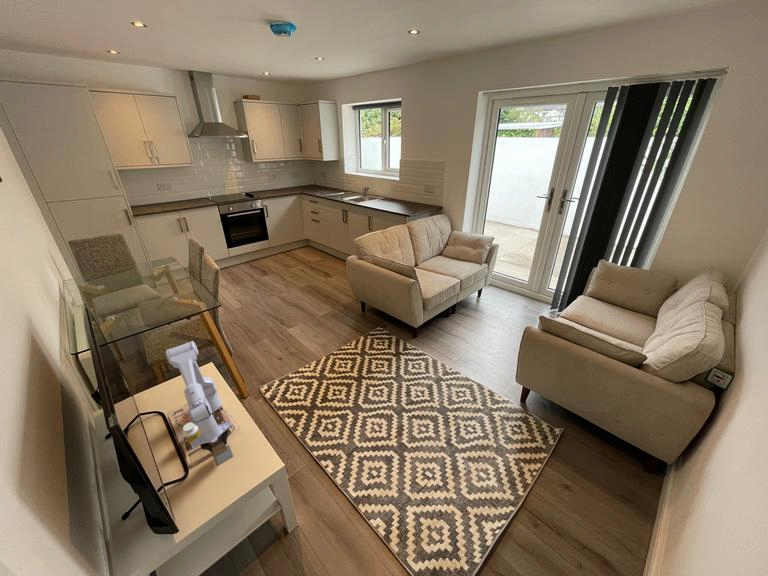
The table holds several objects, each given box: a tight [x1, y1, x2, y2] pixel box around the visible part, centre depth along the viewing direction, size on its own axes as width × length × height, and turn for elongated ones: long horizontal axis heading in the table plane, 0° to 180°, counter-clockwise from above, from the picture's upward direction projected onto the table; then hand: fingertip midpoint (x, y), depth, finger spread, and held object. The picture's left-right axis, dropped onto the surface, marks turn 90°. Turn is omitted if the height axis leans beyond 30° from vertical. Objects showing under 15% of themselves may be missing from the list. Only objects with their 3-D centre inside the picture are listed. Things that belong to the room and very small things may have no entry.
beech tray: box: [181, 435, 214, 469], centre depth 130 cm, size 15×13×2 cm
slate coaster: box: [213, 444, 234, 466], centre depth 126 cm, size 6×6×1 cm
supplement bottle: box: [182, 421, 201, 445], centre depth 130 cm, size 5×5×10 cm
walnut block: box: [209, 435, 228, 457], centre depth 122 cm, size 4×4×6 cm
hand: (218, 446), depth 123 cm, fingers closed on walnut block, 4 cm apart
